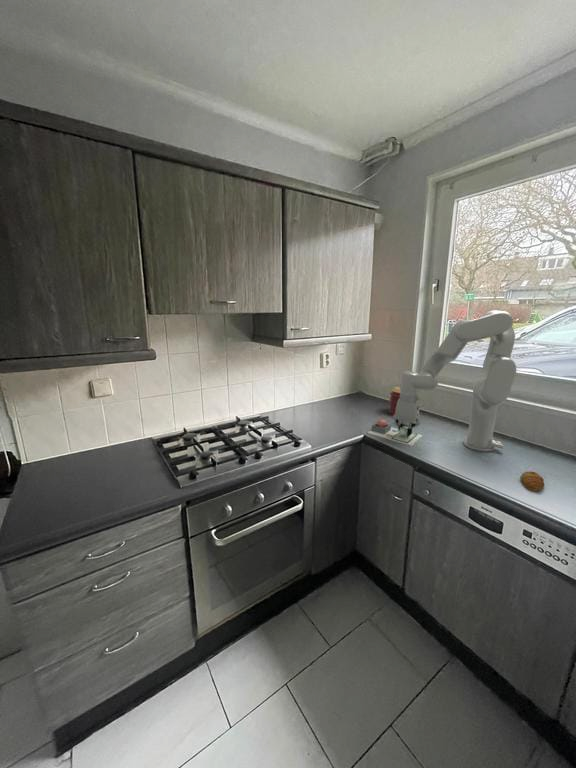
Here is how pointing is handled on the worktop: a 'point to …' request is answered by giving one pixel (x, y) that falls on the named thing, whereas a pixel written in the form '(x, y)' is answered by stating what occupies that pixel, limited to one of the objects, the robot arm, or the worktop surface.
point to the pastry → (532, 481)
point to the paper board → (394, 434)
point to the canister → (394, 399)
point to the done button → (381, 423)
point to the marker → (403, 431)
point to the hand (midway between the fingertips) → (404, 433)
